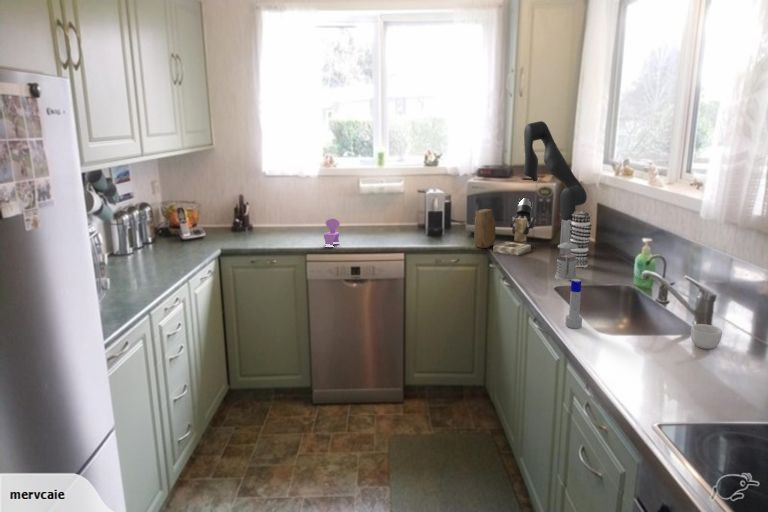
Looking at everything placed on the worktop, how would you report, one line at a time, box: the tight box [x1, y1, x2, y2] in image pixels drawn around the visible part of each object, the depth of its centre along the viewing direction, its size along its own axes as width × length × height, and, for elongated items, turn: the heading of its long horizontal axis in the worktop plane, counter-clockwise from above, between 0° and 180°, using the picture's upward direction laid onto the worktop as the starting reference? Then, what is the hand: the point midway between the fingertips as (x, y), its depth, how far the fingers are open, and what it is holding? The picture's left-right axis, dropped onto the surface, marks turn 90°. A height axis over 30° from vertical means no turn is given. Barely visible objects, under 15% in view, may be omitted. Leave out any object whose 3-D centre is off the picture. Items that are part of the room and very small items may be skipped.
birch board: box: [492, 241, 532, 257], centre depth 277 cm, size 14×13×3 cm
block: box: [473, 208, 496, 249], centre depth 287 cm, size 11×8×20 cm
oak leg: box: [513, 218, 528, 245], centre depth 286 cm, size 5×5×15 cm
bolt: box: [565, 278, 583, 329], centre depth 174 cm, size 16×5×5 cm
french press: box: [554, 220, 578, 281], centre depth 226 cm, size 10×12×25 cm
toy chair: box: [323, 218, 341, 246], centre depth 298 cm, size 8×9×15 cm
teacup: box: [690, 323, 723, 350], centre depth 158 cm, size 10×8×5 cm
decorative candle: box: [569, 210, 592, 268], centre depth 245 cm, size 9×9×25 cm
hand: (520, 233), depth 284 cm, fingers closed on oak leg, 5 cm apart
